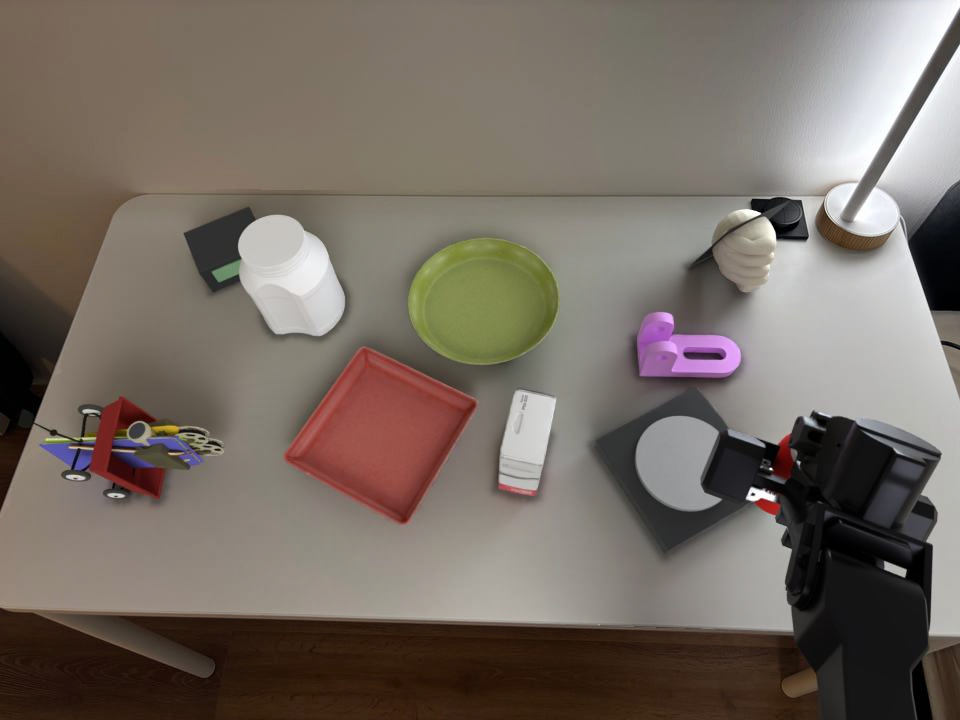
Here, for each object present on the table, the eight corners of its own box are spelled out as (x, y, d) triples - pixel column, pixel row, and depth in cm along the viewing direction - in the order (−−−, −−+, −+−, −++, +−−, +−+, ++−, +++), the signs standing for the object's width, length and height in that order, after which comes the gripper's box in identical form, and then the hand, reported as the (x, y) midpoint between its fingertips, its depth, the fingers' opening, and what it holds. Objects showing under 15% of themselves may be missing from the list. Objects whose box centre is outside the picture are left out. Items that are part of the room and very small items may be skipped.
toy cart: (96, 437, 86) (241, 422, 84) (79, 507, 81) (232, 492, 80) (-7, 381, 71) (167, 361, 69) (-34, 462, 66) (151, 443, 64)
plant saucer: (366, 354, 89) (361, 342, 86) (482, 411, 84) (481, 400, 81) (287, 467, 82) (279, 458, 79) (410, 535, 77) (406, 529, 74)
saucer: (587, 299, 92) (590, 286, 89) (495, 404, 85) (495, 394, 82) (474, 228, 98) (473, 214, 95) (380, 320, 91) (376, 308, 88)
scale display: (278, 266, 96) (267, 245, 92) (213, 293, 95) (199, 273, 90) (260, 228, 100) (248, 206, 96) (197, 254, 98) (183, 232, 94)
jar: (350, 280, 95) (324, 211, 81) (338, 337, 90) (309, 274, 77) (274, 277, 96) (235, 208, 82) (258, 333, 91) (215, 270, 78)
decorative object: (772, 283, 94) (715, 311, 92) (735, 223, 96) (678, 250, 94) (825, 247, 82) (761, 280, 80) (782, 179, 83) (718, 209, 81)
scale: (769, 493, 78) (778, 485, 75) (664, 554, 75) (670, 548, 72) (692, 393, 84) (698, 383, 81) (594, 446, 81) (596, 437, 79)
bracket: (639, 376, 86) (649, 350, 79) (636, 339, 88) (646, 311, 82) (740, 378, 85) (758, 352, 79) (734, 340, 87) (751, 313, 81)
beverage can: (811, 511, 71) (864, 476, 60) (757, 524, 70) (801, 491, 60) (786, 459, 74) (833, 417, 63) (734, 471, 73) (773, 431, 63)
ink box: (538, 498, 78) (542, 466, 68) (497, 489, 79) (495, 456, 69) (551, 433, 82) (557, 393, 72) (512, 425, 83) (512, 384, 73)
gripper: (1005, 491, 48) (931, 421, 62) (749, 405, 52) (735, 359, 66) (934, 611, 51) (880, 519, 66) (699, 522, 55) (697, 454, 70)
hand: (798, 460), depth 67 cm, fingers closed on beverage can, 6 cm apart
